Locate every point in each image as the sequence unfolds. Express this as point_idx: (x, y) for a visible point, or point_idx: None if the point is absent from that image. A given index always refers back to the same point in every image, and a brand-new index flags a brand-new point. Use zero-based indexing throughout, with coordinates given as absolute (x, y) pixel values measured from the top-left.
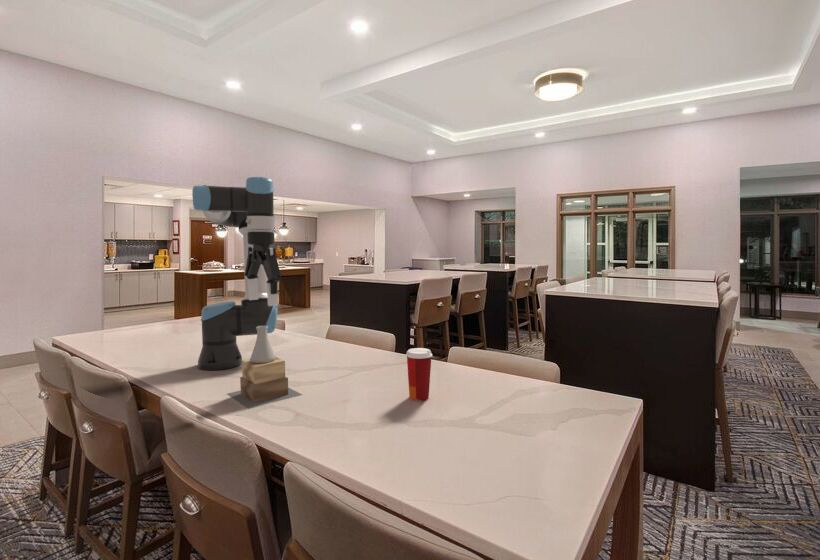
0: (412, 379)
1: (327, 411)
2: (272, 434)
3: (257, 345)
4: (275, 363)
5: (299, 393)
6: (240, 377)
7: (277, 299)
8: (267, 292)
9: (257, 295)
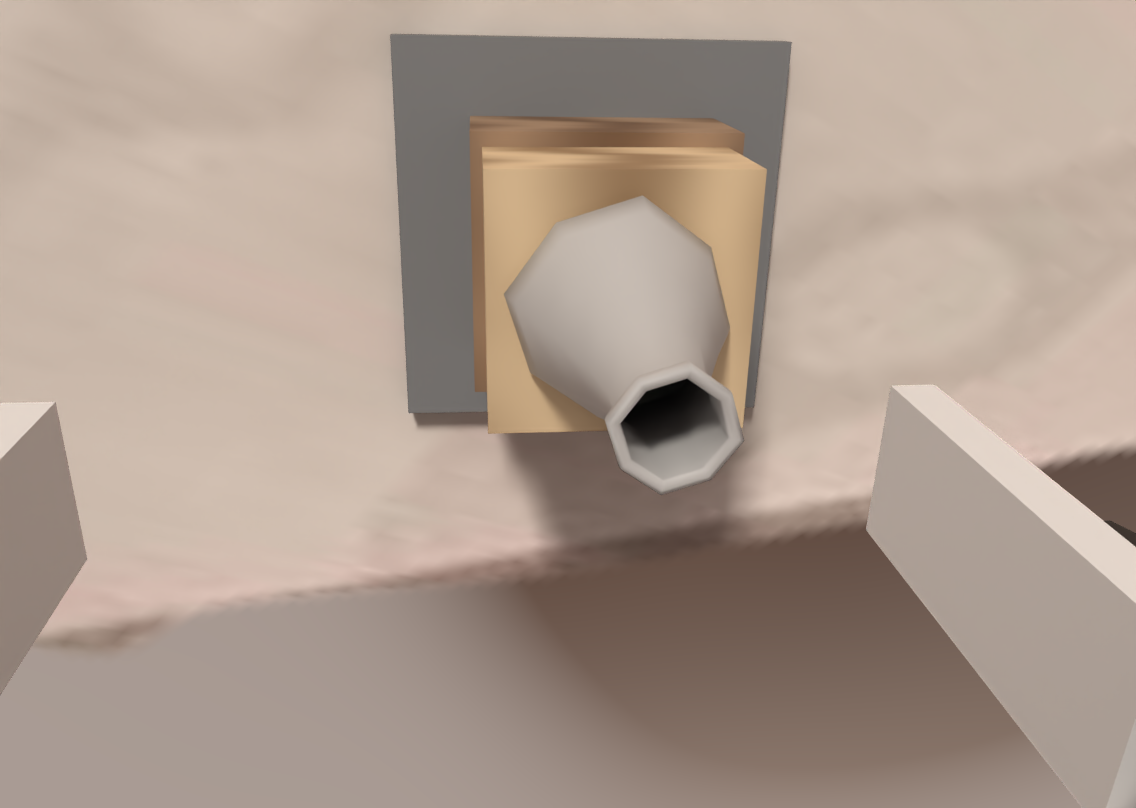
0: None
1: (1099, 52)
2: (1084, 419)
3: (660, 416)
4: (756, 258)
5: (754, 46)
6: (480, 391)
7: (984, 429)
8: (975, 668)
9: (19, 453)
